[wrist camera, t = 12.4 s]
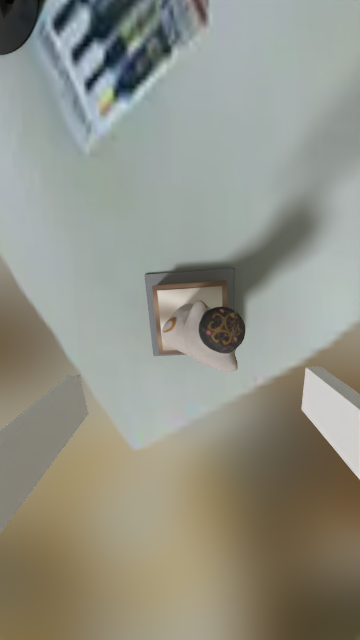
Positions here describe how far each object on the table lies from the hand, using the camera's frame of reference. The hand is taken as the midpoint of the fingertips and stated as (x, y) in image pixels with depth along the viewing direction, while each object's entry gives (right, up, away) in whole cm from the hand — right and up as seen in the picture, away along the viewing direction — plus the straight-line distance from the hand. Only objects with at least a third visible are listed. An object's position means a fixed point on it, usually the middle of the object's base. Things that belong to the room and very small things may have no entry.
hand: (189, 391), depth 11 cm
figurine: (+2, +4, +20) cm, 20 cm away
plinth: (+2, +5, +24) cm, 24 cm away
